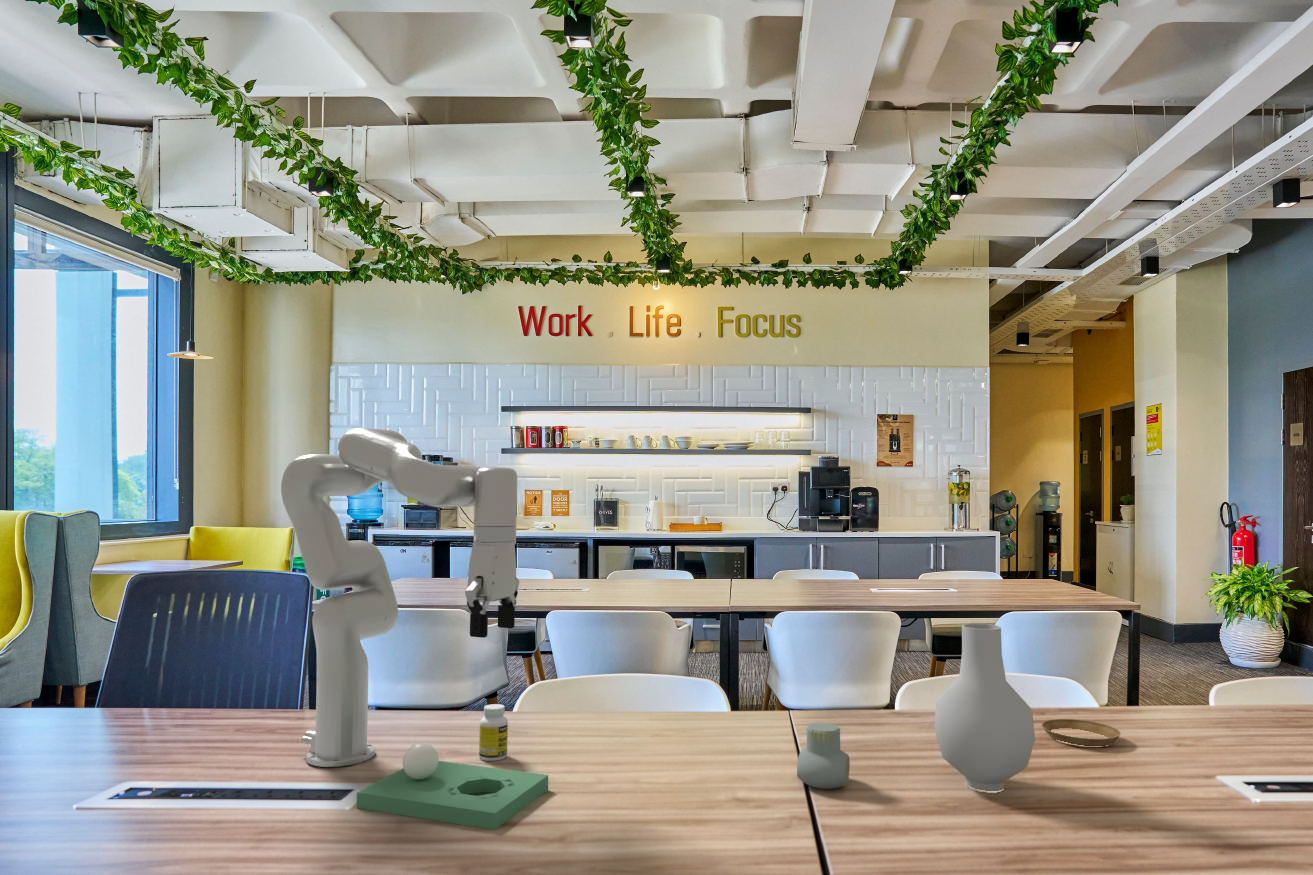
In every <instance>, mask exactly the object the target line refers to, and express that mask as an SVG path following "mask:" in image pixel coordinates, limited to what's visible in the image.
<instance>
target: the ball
mask: <svg viewBox="0 0 1313 875" xmlns="http://www.w3.org/2000/svg"><path fill="white" fill-rule="evenodd" d="M439 761H440V760H439V753H438V751H437V748H435V747H434V746H433V745H432V744H430V743H427V742H424V741H423V742H417V743H415V744H412V745H411V746H410V747H409V748H407V750H406V751H405V753H404V755H403V758H402V767H403V768H404V771H405V773H406V774H407V775H408V776H409V777H411V778H413V779H416V780H421V779H425V778H427V777H429V776H431V775H432V774H433V773H434V771H435V770H436V768H437V766H438V762H439ZM403 768H402V769H403Z"/></svg>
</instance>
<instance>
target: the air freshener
mask: <svg viewBox="0 0 1313 875" xmlns="http://www.w3.org/2000/svg"><path fill="white" fill-rule="evenodd" d="M850 760H851V759H850V755H849V754H847V753H846V752H844V751H843V750H841V729H840V728H839V726H837V725H836V724H833V723H828V722H815V723H810V724H808V725H807V726H806V747H805V748H804V749H802V750H801V751H799V754H798V758H797V765H796V774H797V775H796V776H797V778H798V779H799V781H800V782H802V783H804V784H806V785H807V786H809V787H813V788H815V787H816V789H820V788H822V789H821V790H833V788H835V789H839V788H841V787H843V786H846V785H847V784H848V782H849V776H850V764H851V763H850V762H851V761H850ZM838 787H839V788H838Z"/></svg>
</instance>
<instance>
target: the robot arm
mask: <svg viewBox="0 0 1313 875" xmlns="http://www.w3.org/2000/svg"><path fill="white" fill-rule="evenodd" d="M382 482H386V483H389V484H391V485H392V486H393V488H394V489H395V490H396V491H397V492H398V493H399V494H400V495H401V496H404V497H406V498H408V499H411V500H413V501H416V502H419V503H422V504H423V505H427V506H429V507H434V508H456V507H457V508H468V507H474V508H473V510H474V512H473V516H474V517H473V545H472V547H471V551H470V556H469V564H468V574H467V588H466V590H465V593H464V594H465V599H466V605H467V607H468V614H469V636H470V637H471V638H472V637H473V638H484V639H485V638H487V637H488V635H489V634H488V625H489V614H488V613H486V612H487V610H488V608H489V605H490V603H492V602H493V603H494V602H496V601H497V602H498V601H499V604H498V605H497V627H498V628H503V629H513V628H515V621H516V620H515V619H516V618H515V617H516V613H515V610H516V605H517V597H518V594H519V592H518V590H519V585H520V579H519V578H518V577H517V558H516V557H517V556H516V548H515V545H516V544H517V515H518V514H517V510H518V505H517V504H518V474H517V471H516V470H515V469H513V468H510V467H496V466H494V467H493V466H492V467H480V466H478V467H477V466H470V465H468V466H467V465H450V464H449V465H445V464H444V465H443V464H437V463H433V462H430V461H428V460H425V459H423V456H422V453H421V450H420V449H419V448H418V446H416V445H415V444H413V443H410V442H408V441H407V439H406V438H405V437H404V436H403V435H402V434H400V433H399V432H397V431H394V430H392V429H391V430H390V429H382V428H381V429H379V428H370V427H369V428H368V427H359V428H353V429H351V430H348V431H347V432H345V433H344V434H343V435H342V436H341V437H340V439H339V441H338V443H337V454H328V453H327V454H326V453H313V454H305V455H301V456H298V457H296V458H295V459H293V460H292V461H290V462H289V463H288V465H287V466H286V468H285V470H284V472H283V473H282V477H281V484H280V493H281V500H282V503H283V506H284V508H285V512H286V513H287V515H288V517H289V519H290V521H291V524H292V526H293V529H294V532H295V534H296V539H297V543H298V547H299V550H300V554H301V556H302V561H303V565H304V567H305V572H306V574H307V577H308V579H309V582H310V584H311V585H312V587H314V588H315V589H317V590H320V591H334V590H341V589H348V588H351V589H352V592H345V593H338V594H335V595H332V596H329V597H326V598H325V599H323V600H322V601H320V602H319V603H318V605H316V607H315V609H314V611H313V614H312V619H311V620H312V621H311V622H312V624H311V625H312V632H313V636H314V642H315V648H316V649H315V650H316V651H315V652H316V691H315V692H316V694H315V695H316V696H315V697H316V700H315V702H316V703H315V704H316V705H315V731H314V730H307V731H306V732H305V734H304V736H302V738H301V744H304V745H310V750H309V751H307V753H306V755H305V756H306V758H305V760H306V762H307V764H309V765H311V766H314V767H321V768H338V767H346V766H351V765H357V764H360V763H362V762H365V761H368V760H369V759H372V757H374V756H375V754H376V747H375V745H373V744H371V743H369V742H368V721H369V720H368V717H369V716H368V715H369V714H368V713H369V712H368V710H369V707H368V706H369V660H368V657H367V654H366V651H365V650H364V648H363V645H362V643H361V641H362V640H364V639H369V638H374V637H377V636H381V635H384V634H385V635H386V634H387V633H389V632H390V631H391V630H392V629H393V628H394V627H395V625H396V623H397V621H398V617H399V607H398V606H399V605H398V602H397V598H396V595H395V591H394V588H393V584H392V581H391V578H390V574H389V571H388V567H387V564H386V562H385V559H384V556H383V554H382V552H381V551H380V550H379V548H378V547H377V546H376V545H375V544H373V543H372V542H370V541H367V540H363V539H362V540H361V539H359V540H357V539H356V540H347V538H346V537H345V534H344V532H343V529H342V526H341V522H340V519H339V517H338V515H337V514H336V512H335V511H334V509H333V508H332V507H331V506H330V505H329V504H328V503H327V502H326V500H324V497H354V496H358V495H362V494H364V493H366V492H367V491H370V490H371V489H372V488H374V487H376V486H378V485H379V484H380V483H382ZM481 603H482V604H481Z"/></svg>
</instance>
